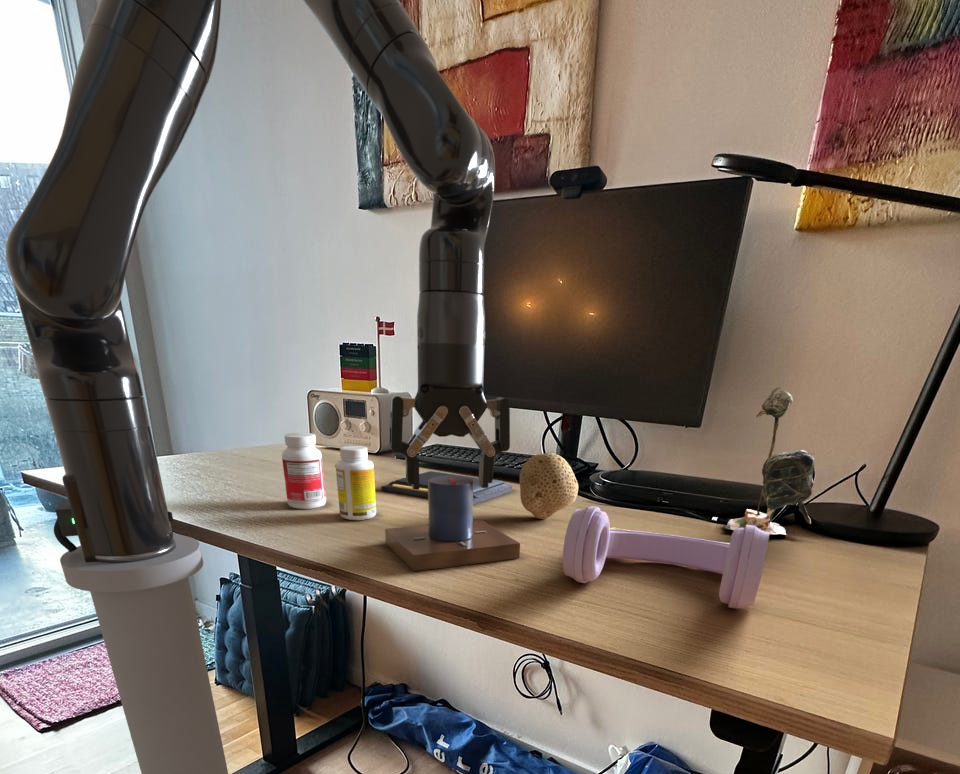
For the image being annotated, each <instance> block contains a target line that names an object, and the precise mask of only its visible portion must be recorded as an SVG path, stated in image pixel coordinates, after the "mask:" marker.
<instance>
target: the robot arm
mask: <svg viewBox="0 0 960 774" xmlns="http://www.w3.org/2000/svg"><path fill="white" fill-rule="evenodd" d="M302 2H304V4H305V5H306V6H307V8H308V9H309V10H310V11H311V12H312V15H314V17H315V18H316V20H317V22H318V23H319V24H320V25H321V27H322V29H323V30H324V31H325V33H326V34H327V36H328V37H329V38H330V40H331V41H332V43H333V45H334V46H335V47H336V49H337V51H338V52H339V53H340V56H341V57H342V58H343V60H344V62H345V63H346V64H347V67H348V68H349V70H351V72H352V74H353V76H354V77H355V78H356V80H357V81H358V83H359V84H360V86H361V88H362V89H363V91H364V92H365V93H366V95H367V97H368V99H370V101H371V102H372V104H373V105H374V107H375V109H377V110H378V113H380V115H381V116H382V118H383V121H384V123H385V125H386V127H387V129H388V131H389V133H390V136H391V137H392V139H393V141H394V143H395V145H396V147H397V150H398V152H399V153H400V155H401V156H402V159H403V160H404V162H405V164H406V165H407V166H408V168H409V170H410V171H411V172H412V174H413V175H414V177H415V178H416V179H417V180H418V182H420V184H421V185H422V186H423V187H424V188H425V189H427V190H428V191H429V192H431V193H432V207H431V208H432V209H431V210H432V211H431V219H430V228H428V229H427V230H425V231H424V233H423V234H422V235H421V237H420V241H419V247H418V292H419V293H418V306H417V316H416V318H417V320H416V326H417V327H416V333H417V334H416V337H417V338H416V339H417V340H416V341H417V344H416V345H417V347H416V348H417V391H416V394H415V397H403V396H399V395H396V394H394V395H392V396H391V397H390V401H389V403H390V404H389V433H388V434H389V435H388V436H389V437H388V439H389V440H388V444H389V447H390V448H391V450H392V451H393V452H395V453H400V454H402V455H403V456H405V478H406V479H407V482H408V483H409V484H411V485H412V488H413V489H419V474H420V458H419V456H418V453H419V452H420V451H421V449H422V448H423V446H424V445H425V444H427V442H428V441H429V439H430V438H431V437H432V435H435V436H437V437H440V438H441V437H443V438H444V437H445V438H446V437H449V436H454V437H460V438H465V436H467V435H469V436H470V437H471V439H472V440H473V441H474V443H475V445H477V447H478V448H479V450H480V452H481V454H479V459H478V461H479V462H478V478H479V486H480V487H481V488H488V483H492V480H494V466H495V465H494V464H495V458H496V456H497V455H498V454H500V453H502V452H507V451H509V450H510V447H511V408H510V407H511V405H510V400H509V399H508V398H506V397H502V396H498V397H496V398H490V399H486V397H485V395H484V377H485V375H484V372H485V343H486V338H487V332H486V311H485V296H484V294H485V265H486V262H485V260H486V258H485V256H486V255H485V247H486V241H487V236H488V233H489V228H490V221H491V215H492V209H493V205H494V196H495V189H496V161H495V160H496V159H495V154H494V148H493V146H492V143H491V140H490V138H489V136H488V135H487V134H486V132H485V131H484V130H483V129H482V127H481V126H480V125H479V124H478V123H477V122H476V121H475V120H474V118H472V116H471V115H470V114H469V113H468V111H467V110H466V109H465V108H464V106H463V104H462V103H461V102H460V100H459V99H458V98H457V96H456V95H455V94H454V92H453V91H452V89H451V88H450V86H449V85H448V83H447V81H445V79H444V77H443V76H442V74H441V73H440V72H439V70H438V66H437V63H436V60H435V58H434V56H433V54H432V51H431V49H430V48H429V46H428V44H427V43H426V41H425V39H424V37H423V35H422V34H421V33H420V31H419V30H418V28H417V26H416V25H415V23H414V21H413V20H412V19H411V17H410V15H409V14H408V12H407V11H406V9H405V8H404V6H403V5H402V3H401V1H400V0H302ZM221 11H222V0H99V1H98V4H97V7H96V10H95V12H94V14H93V18H92V21H91V23H90V25H89V29H88V31H87V34H86V37H85V39H84V43H83V47H82V50H81V52H80V53H81V54H80V57H79V60H78V64H77V67H76V70H75V75H74V79H73V82H72V83H73V84H72V87H71V92H70V95H69V101H68V105H67V110H66V115H65V121H64V125H63V127H62V131H61V136H60V138H59V141H58V144H57V146H56V148H55V152H54V153H53V156H52V158H51V160H50V162H49V164H48V166H47V168H46V170H45V172H44V174H43V175H42V177H41V179H40V181H39V184H38V185H37V187H36V189H35V191H33V194H32V196H31V197H30V199H29V200H28V203H27V204H26V206H25V207H24V210H23V211H22V212H21V214H20V216H19V217H18V219H17V220H16V222H15V223H14V225H13V226H12V228H11V230H10V232H9V234H8V236H7V240H6V244H5V261H6V266H7V269H8V272H9V275H10V277H11V280H12V283H13V287H14V292H15V294H16V298H17V302H18V305H19V309H20V312H21V315H22V320H23V323H24V327H25V330H26V334H27V338H28V341H29V345H30V348H31V353H32V358H33V362H34V365H35V369H36V374H37V377H38V381H39V384H40V387H41V391H42V393H43V397H44V400H45V405H46V408H47V411H48V416H49V419H50V422H51V426H52V429H53V430H52V431H53V434H54V437H55V441H56V444H57V447H58V451H59V456H60V459H61V462H62V466H63V470H64V475H63V476H62V484H63V487H64V490H65V491H64V492H65V494H66V497H67V499H63V500H62V501H61V502H60V503H59V505H58V506H57V507H56V509H55V511H54V512H55V514H56V520H55V522H54V526H53V534H54V536H55V539H56V541H57V542H58V543H60V545H62V547H64V549H66V550H67V552H68V551H69V552H73V551H75V550H76V549H77V547H78V546H77V545H75V544H74V543H73V542H72V541H71V540H70V539H69V538H68V537H78V541H79V544H80V545H79V546H81V548H82V552H83V555H84V559H85V562H105V563H126V562H135V561H142V560H147V559H152V558H156V557H159V556H162V555H165V554H167V553H169V552H171V551H173V550H174V549H175V548H176V544H175V539H174V538H173V534H174V533H173V527H172V524H171V523H173V524H174V516H173V512H172V511H169V510H168V505H167V500H166V496H165V491H164V486H163V485H164V484H163V481H162V476H161V472H160V467H159V462H158V457H157V451H156V448H155V443H154V437H153V433H152V428H151V423H150V418H149V414H148V408H147V404H146V399H145V395H144V389H143V384H142V381H141V375H140V372H139V369H138V366H137V363H136V360H135V356H134V352H133V349H132V344H131V340H130V335H129V331H128V327H127V322H126V317H125V312H124V307H123V303H122V295H123V291H124V285H125V279H126V276H127V272H128V268H129V264H130V259H131V256H132V251H133V248H134V244H135V241H136V238H137V234H138V231H139V228H140V224H141V221H142V218H143V215H144V212H145V210H146V207H147V205H148V204H149V203H148V202H149V200H150V198H151V196H152V194H153V193H154V191H155V189H156V187H157V185H158V184H159V183H160V181H161V179H162V178H163V176H164V174H165V173H166V171H167V170H168V168H169V167H170V165H171V163H172V162H173V160H174V158H175V157H176V155H177V152H178V151H179V149H180V147H181V145H182V144H183V141H184V139H185V137H186V135H187V134H188V131H189V129H190V127H191V125H192V123H193V121H194V119H195V116H196V114H197V111H198V109H199V107H200V104H201V102H202V100H203V96H204V94H205V92H206V89H207V87H208V84H209V82H210V79H211V76H212V72H213V69H214V65H215V61H216V57H217V51H218V45H219V36H220V26H221ZM412 408H414V410H415V411H416V413H417V414H418V416H419V418H420V419H421V421H420V423H419V424H418V426H417V427H416V429H415V430H414V432H413V434H412V436H411V437H410V438H409V440H408V441H407V442H405V441H403V425H404V423H403V419H404V418H406V417H408V416H409V415H410V411H411V409H412ZM486 410H488V411H489V416H491V417H492V418H494V440H493V441H490V440H489V438H488V436H487V434H486V432H485V431H484V430H483V428H482V427H481V425H480V424H479V421H480V419H481V418H482V417H483V415H484V413H485V412H486Z"/></svg>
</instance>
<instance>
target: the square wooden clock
mask: <svg viewBox="0 0 960 774" xmlns="http://www.w3.org/2000/svg"><path fill="white" fill-rule="evenodd" d="M384 533H385V535H384V536H385V544H386V545H387V546H388V547H389V548H390V549H391V550H392V551H393V552H394V553H395V554H396V555H397V556H398V557H399V558H400V559H401V560H402V561H403V562H404V563H405V564H406V565H407V566H408V567H409V568H410V569H412V570H413V572H418V571H419V572H421V571H429V570H436V569H437V570H438V569H444V568H451V567H452V568H453V567H460V566H468V565H476V564H484V563H491V562H500V561H508V560H515V559H520V557H521V555H520V554H521V542H519V541H517V540H515V539H514V538H512V537H510V536H509V535H507V534H506V533H505V532H502V531H500V530H499V529H497V528H495V527H494V526H492V525H490V524H488V523H487V522H486V521H484V520H482V519H477V520H475V519H474V520H473V530H472V537H471V538H470V539H467V540H463V541H454V542H449V541H439V540H435V539H432V538H431V537H430V536H429V524H423V525H412V526H404V527H403V526H401V527H391V528H385V529H384Z"/></svg>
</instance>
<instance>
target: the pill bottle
mask: <svg viewBox="0 0 960 774" xmlns="http://www.w3.org/2000/svg"><path fill="white" fill-rule="evenodd" d="M284 443H285V445H286V449H284V450H283V451H282V453H281V460H282V468H283V476H284V485H285V492H286V493H285V494H286V500H287V505H288V506H289V507H290V508H292V509H299V510H311V509H316V508H321V507H323V506H325V505H326V503H327V494H326V484H325V474H324V464H323V455H322V452H321V451H320V449H318V448H316V447H315V446H316V445H317V444H316V443H317V439H316V434H315V433H311V432H291V433H286V434H284Z"/></svg>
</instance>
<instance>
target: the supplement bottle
mask: <svg viewBox="0 0 960 774" xmlns="http://www.w3.org/2000/svg"><path fill="white" fill-rule="evenodd" d="M339 456H340V460H338V461H337V462H336V463H335V475H336V487H337V498H338V507H339V508H338V509H339V510H338V511H339V515H340V516H341V518H343V519H346V520H350V521H364V520H369V519H372V518H374V517H376V515H377V499H376V498H377V497H376V484H375V467H374V463H373V461H371V460H369V458H368V457H369V454H368V447H366V446H362V445H348V446H341V447H340V448H339Z"/></svg>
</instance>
